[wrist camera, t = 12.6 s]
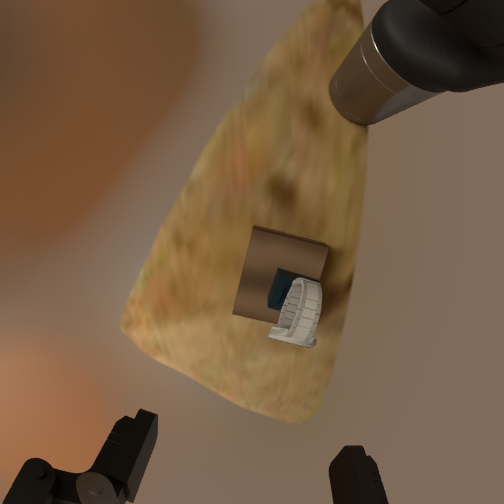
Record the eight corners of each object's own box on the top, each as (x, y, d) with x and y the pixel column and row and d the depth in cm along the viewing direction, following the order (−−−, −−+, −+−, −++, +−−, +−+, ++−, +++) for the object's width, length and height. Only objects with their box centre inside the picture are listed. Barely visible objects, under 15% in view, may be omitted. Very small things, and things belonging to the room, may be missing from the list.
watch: (262, 310, 37) (261, 357, 27) (282, 254, 35) (289, 286, 25) (301, 320, 37) (313, 369, 27) (323, 267, 35) (345, 302, 25)
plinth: (253, 225, 37) (252, 228, 35) (324, 243, 38) (329, 248, 35) (234, 304, 40) (232, 313, 38) (299, 319, 41) (302, 329, 38)
